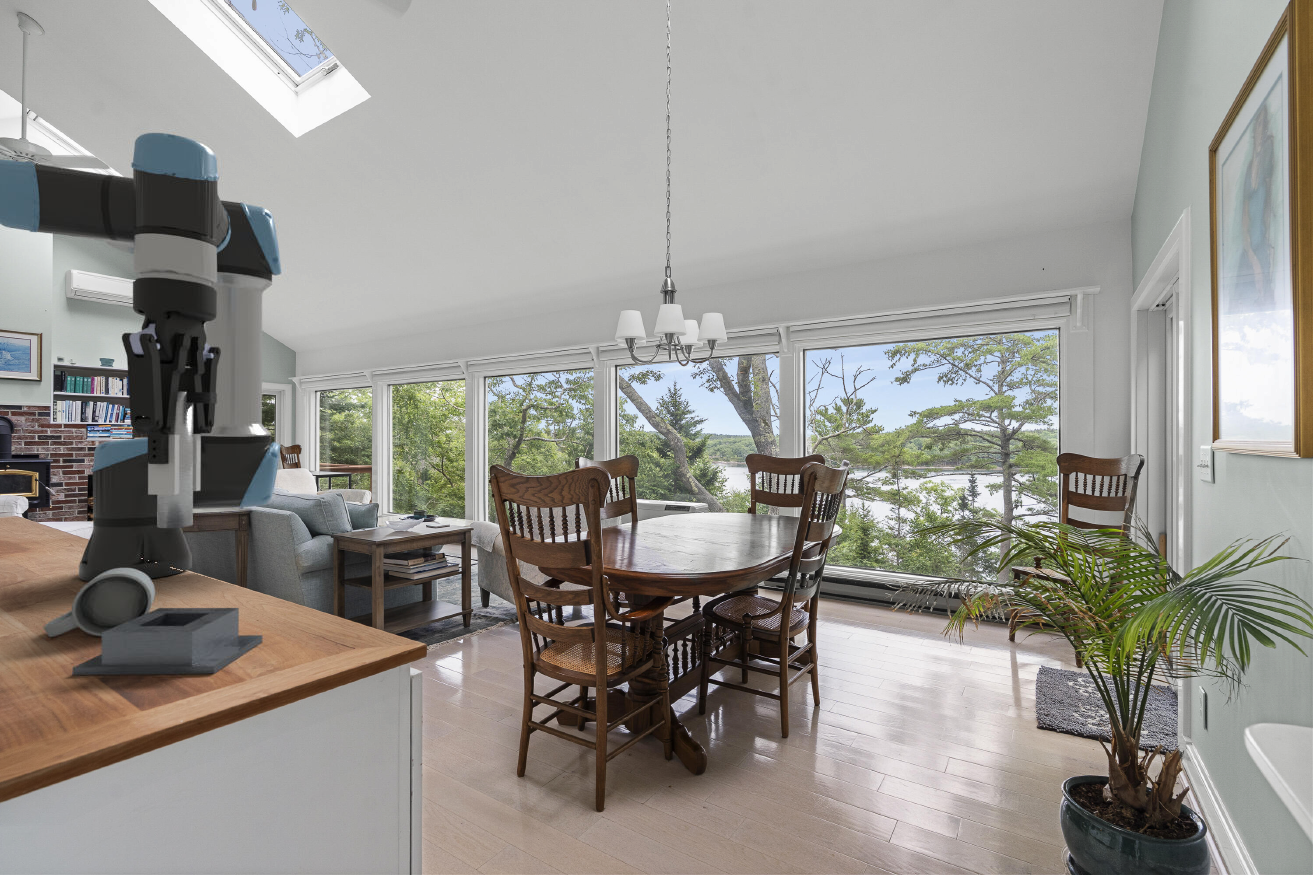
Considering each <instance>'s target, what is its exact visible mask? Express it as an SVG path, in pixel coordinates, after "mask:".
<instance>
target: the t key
mask: <svg viewBox="0 0 1313 875" xmlns="http://www.w3.org/2000/svg"><path fill="white" fill-rule="evenodd" d="M193 403H212V404H217V393H210V392H178V395H177V404H176V413H175V423H174V431H173V433H172V434H169V435H179V494H176V495H157V527H159V528H177V527H181V528H186V527H191V526H193V524H194V523H193V522H194V519H193V517H194V516H193V515H194V509H193Z"/></svg>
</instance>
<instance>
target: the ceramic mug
mask: <svg viewBox="0 0 1313 875" xmlns="http://www.w3.org/2000/svg"><path fill="white" fill-rule="evenodd" d="M155 588H156V587H155V584H154V583H153V581H152V578H151V579H150V578H149V577H148V576H147V575H146V574H145V573H143V572H141V571H139V570H136V569H132V568H117V569H112V570H109V571H106V572H104V573H102V574H100V575H98V576H97V577H96V578H94V579H93V580H91V581H88V582H87V583H86V584H85V585H84V586H82V588H80V589H79V591H78V592H77V593H76V595H75V597H74V600H72V605H71V610H70V611H68V612H66V613H65V614H62V615H60V616H58V617H56V618H55V619H52V620H51V621H49V622H48V623H47V624H45V625H44V626H43V630H44V631H45V633H46V634H47V635H48V637H49V638H53V637H58V636H61V635H63V634H65V633H68V632H70V631H72V630H74V629H76V628H79V629H81V631H83V632H85V633H86V634H89V635H92V636H97V637H102V632H105V631H107V630H109V629H112V628H114V627H116V626H119V625H121V624H123V623H126V622H128V621H130V620H133V619H135V618H137V617H140V616H142V615H144V614H147V613H149V612H151V609H152V606H153V603H154V600H155V597H156V589H155Z"/></svg>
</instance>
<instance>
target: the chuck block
mask: <svg viewBox="0 0 1313 875" xmlns="http://www.w3.org/2000/svg"><path fill="white" fill-rule="evenodd" d="M239 610H240V608H239V607H159V608H156V609H154V610H152V611H151V610H150V611H149V613H147V614H144V615H142V616H140V617H137V618H135V619H133V620H130V621H128V622H126V623H123V624H121V625H119V626H116V627H114V628H112V629H109V630H107V631H105V632H102V636H101V654H98V655H96V656H94V657H92V658H90V659H88V660H86V661H84V662H81V663H79V664H77V665H75V666H73V667H72V669H71V670H72V676H121V675H123V676H124V675H126V676H127V675H130V676H131V675H134V676H135V675H139V676H140V675H210V674H211V675H213V674H214V675H215V674H216V673H217V672H218V671H220V670H222V669H223V668H224V667H227V666H229V665H230V664H231V663H233V662H234V661H236V660H237V659H239V658H240V657H242V656H243V655H245V654H246V653H248V652H249V651H251V650H252V649H255V647H256V646H257V647H258V645H260V644H261V643H263V634H262V635H260V634H257V635H256V634H255V635H254V634H251V635H249V634H248V635H247V634H245V635H239V632H240V630H239V628H240V627H239V626H240V625H239V623H240V622H239V620H240V615H239V614H240V611H239Z"/></svg>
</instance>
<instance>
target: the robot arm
mask: <svg viewBox="0 0 1313 875" xmlns="http://www.w3.org/2000/svg"><path fill="white" fill-rule="evenodd" d="M217 162H218V160H217V155H216V154H215V153H214V151H213V150H211V148H210V147H208V146H206V145H205V144H203V143H201V142H200V141H199V142H198V141H196V140H193V139H191V138H188V137H185V136H182V135H176V134H170V133H163V132H147V133H143V134H141V135H139V136H137V138H136V139H135V141H134V151H133V158H132V162H131V168H132V171H133V172H132V173H133V177H127V176H119V175H113V174H104V173H98V172H93V171H92V172H91V171H85V170H80V169H73V168H67V167H61V166H53V165H47V164H46V165H45V164H41V163H34V162H33V161H29V160H27V161H26V160H25V161H19V160H12V159H11V160H10V159H4V158H3V159H0V225H1V226H2V227H6V228H8V229H9V228H10V229H16V230H23V231H28V232H30V233H41V234H42V233H43V234H53V235H59V236H60V235H61V236H62V235H64V236H68V237H77V238H82V239H88V240H94V241H98V242H99V241H101V242H105V243H106V244H108V245H109V246H111V247H112V248H115V249H117V250H119V251H122V252H126V253H130V254H132V256H133V272H134V274H136V275H137V276H139V277H138V278H136V279H135V280H134V281H132V309H133V311H134V312H135V313H136V315H139V316H144V318H143V319H144V320H143V323H142V325H141V330H140V331H138V332H124V333H123V334H122V335H121V342H122V345H123V347H124V351H125V354H126V361H127V379H128V380H127V381H128V397H129V398H128V399H129V415H130V416H129V418H130V425H131V427H132V428H134V431H135V432H136V434H138V435H140V434H141V435H146V436H147V437H140V438H138V437H137V438H130V439H129V438H128V439H119V440H118V439H117V440H111V441H105V442H102V443H100V444H98V445H97V446H96V447H95V449H94V452H93V464H92V465H93V466H92V469H91V473H92V518H93V519H92V521H93V522H92V532H91V535H90V537H89V540H88V542H87V544H86V547H85V550H84V552H83V554H82V557H81V560H80V562H79V565H78V578H79V580H81V581H84V582H90V581H91V580H93V579H94V578H96V577H97V576H98V575H100V574H102V573H104V572H106V571H109V570H112V569H117V568H132V569H136V570H139V571H141V572H143V573H145V574H146V575H147V576H148V577H149V578H150V579H151V580H152V579H155V578H163V577H169V576H172V575H176V574H179V573H183V572H186V571H188V570H190V569H191V568H192V566H193V556H192V552H191V550H190V547H189V544H188V542H187V539H186V537H185V534H184V532H183V530H182V527H177V528H159V527H157V495H176V494H179V435H169V434H172V433H173V431H174V423H175V413H176V404H177V395H178V392H210V393H217V404H212V403H193V510H199V509H202V510H203V509H204V510H205V509H225V508H226V509H227V508H238V509H243V508H251V507H252V508H253V507H262V506H265V505H267V504H268V503H269V502H270V501H271V500H272V498H273V495H274V494H273V493H274V491H275V484H276V479H277V474H278V467H279V462H280V461H279V460H280V452H281V444H279V443H278V442H275V441H273V442H272V433H271V432H270V431H269V430H268V429H267V428H266V427H265V426H264V425H263V416H262V414H263V407H262V406H263V403H262V402H263V395H262V394H263V293H264V292H265V291H266V290H267V289H268V288H270V287H271V286H272V285H273V276H279V275H281V274H282V265H281V257H280V249H279V241H278V236H277V229H276V223H275V220H274V216H273V214H272V212H271V211H269V210H268V209H266V208H265V207H262V206H257V205H252V204H246V203H245V202H236V201H229V200H221V199H220V197H219V194H218V193H219V192H218V180H219V179H220V175H219V174H218V163H217ZM141 558H143V559H141ZM148 560H149V561H148ZM155 562H157V563H155ZM170 567H173V568H176V569H172V568H170ZM177 569H180V570H183V571H180V570H177Z"/></svg>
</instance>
